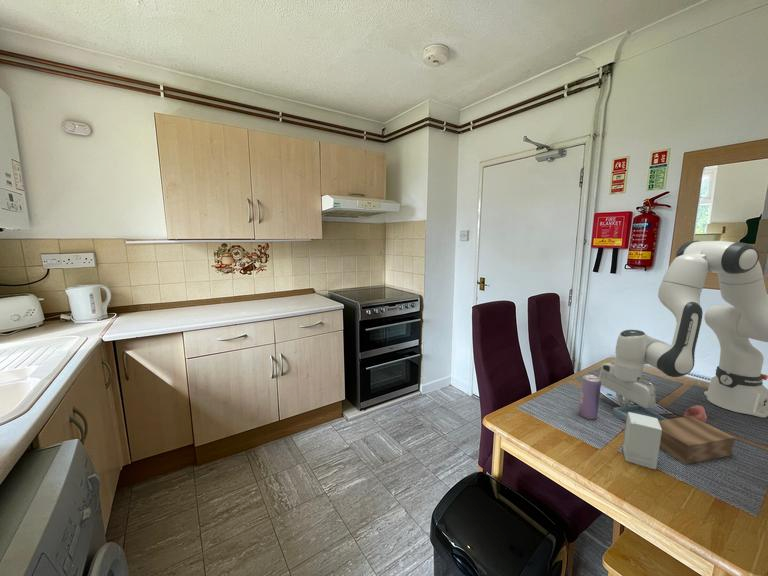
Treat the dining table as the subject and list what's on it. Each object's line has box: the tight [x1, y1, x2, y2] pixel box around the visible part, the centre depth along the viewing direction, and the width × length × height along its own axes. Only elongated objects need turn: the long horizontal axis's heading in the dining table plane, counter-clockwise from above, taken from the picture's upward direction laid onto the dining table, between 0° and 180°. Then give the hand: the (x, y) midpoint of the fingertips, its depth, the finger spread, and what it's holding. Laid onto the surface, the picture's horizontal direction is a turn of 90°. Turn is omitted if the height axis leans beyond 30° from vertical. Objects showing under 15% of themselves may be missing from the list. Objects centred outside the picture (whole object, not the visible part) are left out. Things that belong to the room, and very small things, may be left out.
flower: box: [683, 404, 708, 423], centre depth 115 cm, size 8×8×6 cm
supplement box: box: [622, 412, 662, 470], centre depth 96 cm, size 7×7×13 cm
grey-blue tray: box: [612, 404, 668, 423], centre depth 113 cm, size 12×19×2 cm, turn 12°
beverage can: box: [578, 374, 602, 420], centre depth 119 cm, size 6×6×15 cm
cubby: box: [659, 416, 736, 465], centre depth 102 cm, size 18×12×6 cm, turn 102°
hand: (623, 406), depth 124 cm, fingers closed
